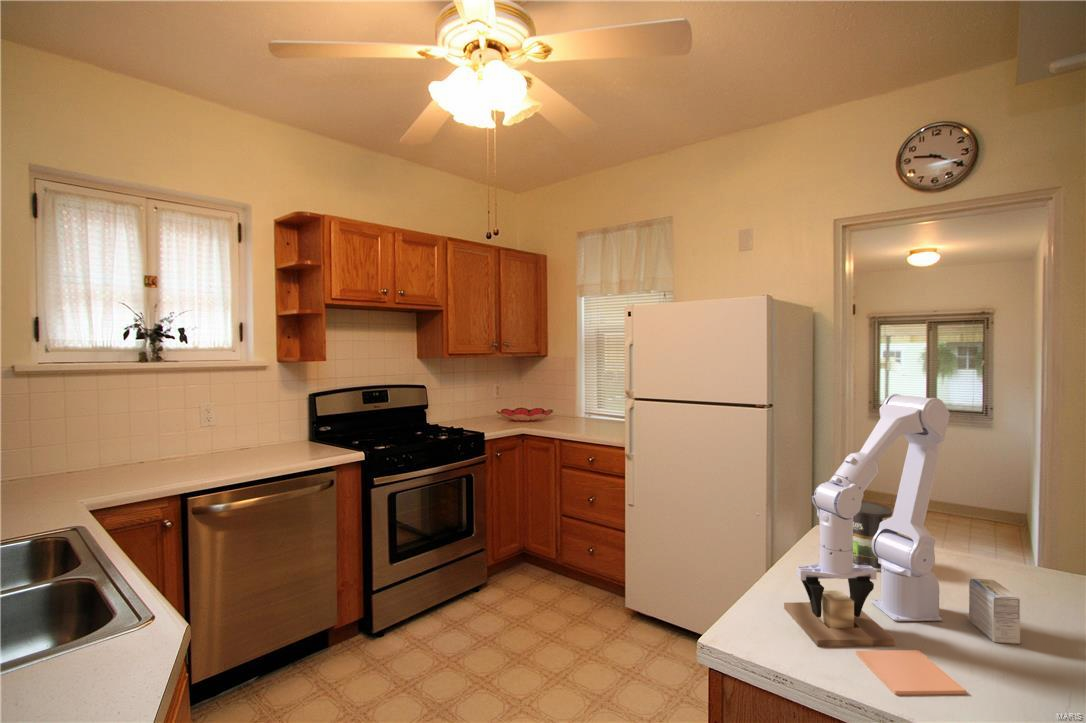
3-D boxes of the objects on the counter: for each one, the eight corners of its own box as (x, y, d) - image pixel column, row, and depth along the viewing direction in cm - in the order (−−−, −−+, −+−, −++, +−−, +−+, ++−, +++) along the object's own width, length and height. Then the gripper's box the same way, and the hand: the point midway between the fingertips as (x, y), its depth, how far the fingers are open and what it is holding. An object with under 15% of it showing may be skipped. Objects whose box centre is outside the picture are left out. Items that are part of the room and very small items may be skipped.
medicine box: (1020, 645, 98) (1021, 598, 98) (992, 643, 99) (993, 596, 98) (994, 622, 106) (994, 579, 105) (968, 620, 106) (968, 577, 106)
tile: (918, 653, 96) (918, 650, 96) (965, 694, 85) (965, 690, 85) (855, 654, 96) (855, 650, 96) (895, 694, 85) (895, 691, 85)
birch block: (841, 619, 108) (841, 590, 108) (853, 632, 103) (854, 601, 103) (818, 620, 108) (818, 590, 108) (830, 632, 103) (830, 601, 103)
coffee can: (862, 573, 129) (862, 514, 128) (834, 555, 139) (834, 501, 138) (902, 570, 130) (902, 512, 129) (871, 553, 140) (872, 499, 139)
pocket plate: (851, 607, 112) (851, 601, 112) (894, 645, 98) (894, 639, 98) (784, 608, 113) (784, 602, 113) (817, 646, 99) (817, 640, 99)
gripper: (861, 537, 109) (861, 603, 109) (789, 538, 109) (789, 604, 110) (883, 551, 102) (882, 622, 102) (805, 552, 102) (805, 623, 102)
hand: (835, 614), depth 105 cm, fingers open, 7 cm apart
